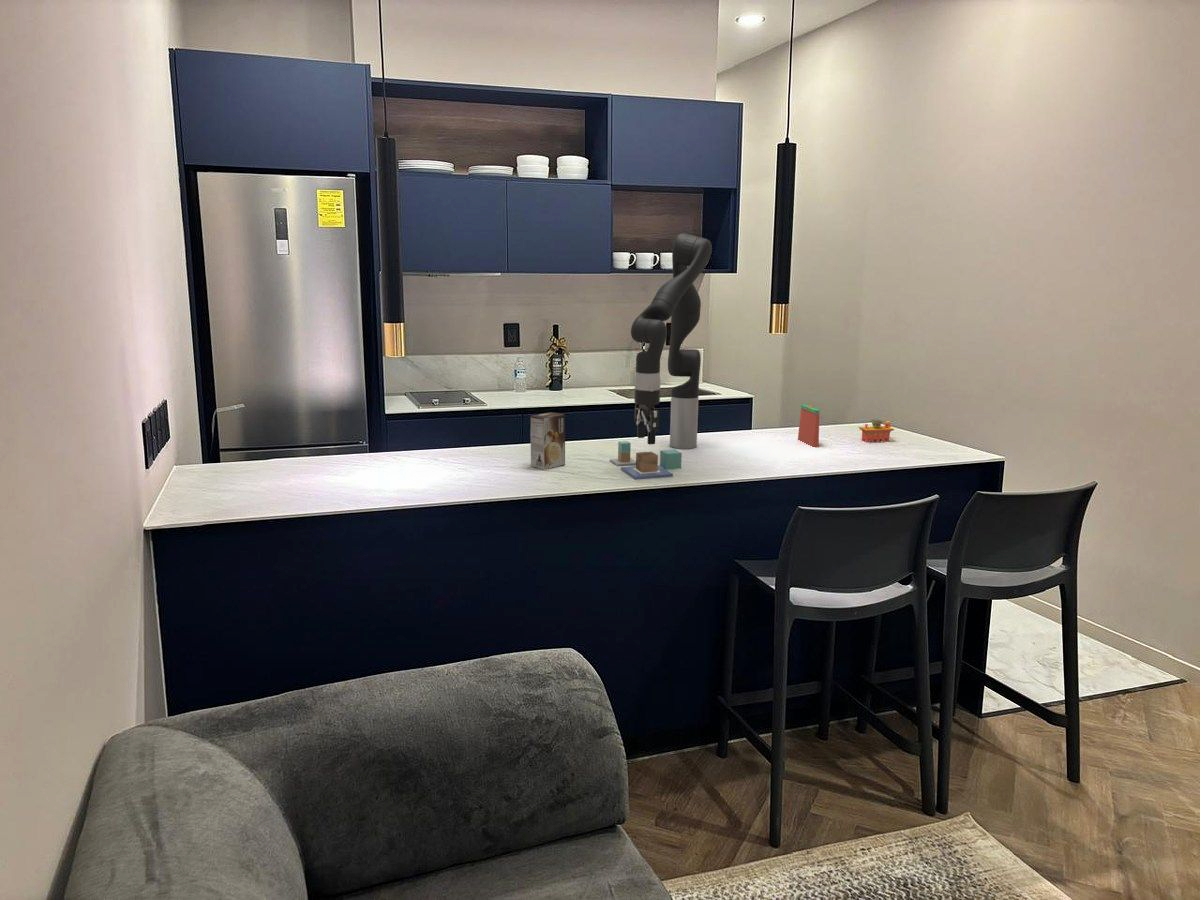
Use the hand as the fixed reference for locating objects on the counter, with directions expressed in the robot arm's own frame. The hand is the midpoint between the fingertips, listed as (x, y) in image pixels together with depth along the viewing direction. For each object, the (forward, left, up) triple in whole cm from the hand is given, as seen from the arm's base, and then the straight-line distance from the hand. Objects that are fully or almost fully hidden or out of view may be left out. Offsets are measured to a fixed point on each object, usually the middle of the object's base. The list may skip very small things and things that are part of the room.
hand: (646, 440), depth 260 cm
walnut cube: (0, 0, -9) cm, 9 cm away
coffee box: (-16, -26, -10) cm, 32 cm away
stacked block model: (-13, -2, -10) cm, 17 cm away
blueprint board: (0, 0, -10) cm, 10 cm away
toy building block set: (-21, +87, -10) cm, 90 cm away
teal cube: (-5, +10, -10) cm, 15 cm away
